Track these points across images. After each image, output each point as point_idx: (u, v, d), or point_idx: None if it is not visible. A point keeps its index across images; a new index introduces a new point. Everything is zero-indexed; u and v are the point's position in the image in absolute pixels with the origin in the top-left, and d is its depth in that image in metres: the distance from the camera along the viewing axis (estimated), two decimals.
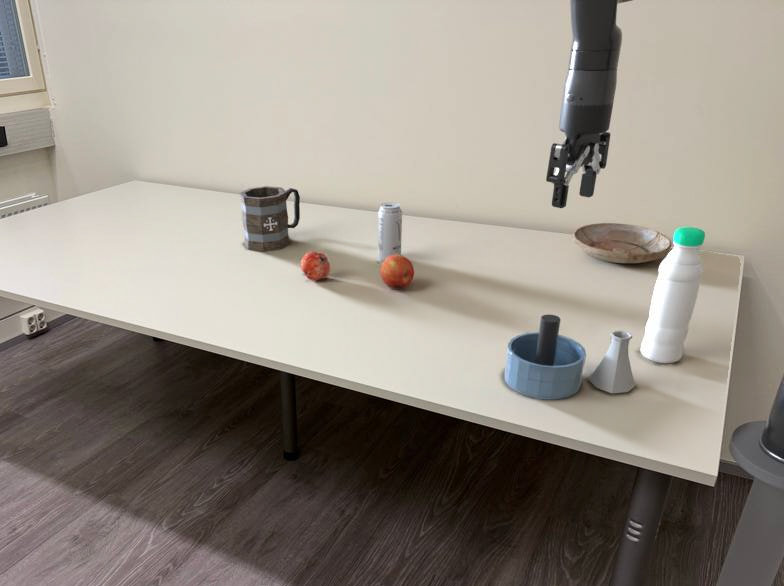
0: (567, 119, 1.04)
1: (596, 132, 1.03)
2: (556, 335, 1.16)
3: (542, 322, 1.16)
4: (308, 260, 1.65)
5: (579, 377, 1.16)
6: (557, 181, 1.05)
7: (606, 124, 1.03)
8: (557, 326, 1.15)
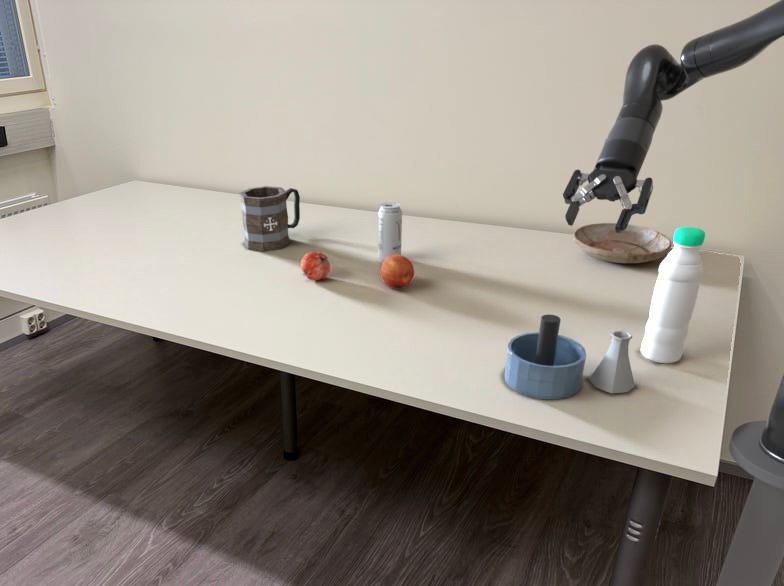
0: (640, 160, 1.19)
1: None
2: (556, 335, 1.16)
3: (542, 322, 1.16)
4: (308, 260, 1.65)
5: (579, 377, 1.16)
6: (644, 211, 1.17)
7: None
8: (557, 326, 1.15)
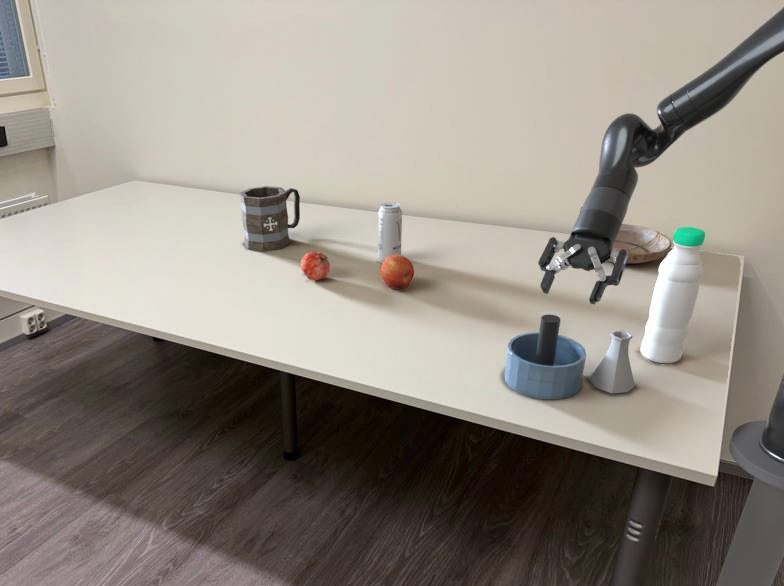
0: (615, 231, 1.19)
1: None
2: (556, 335, 1.16)
3: (542, 322, 1.16)
4: (308, 260, 1.65)
5: (579, 377, 1.16)
6: (618, 282, 1.17)
7: None
8: (557, 326, 1.15)
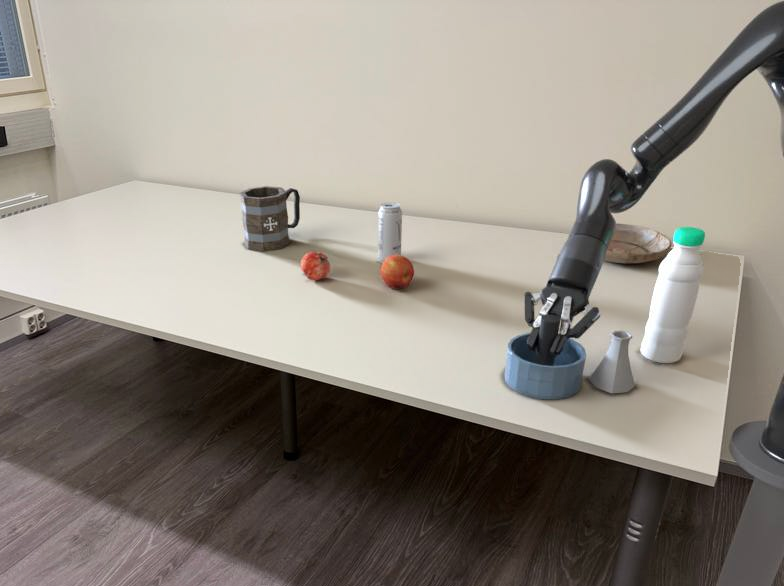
0: (592, 280, 1.16)
1: None
2: (556, 335, 1.16)
3: (542, 322, 1.16)
4: (308, 260, 1.65)
5: (579, 377, 1.16)
6: (579, 335, 1.16)
7: None
8: (557, 326, 1.15)
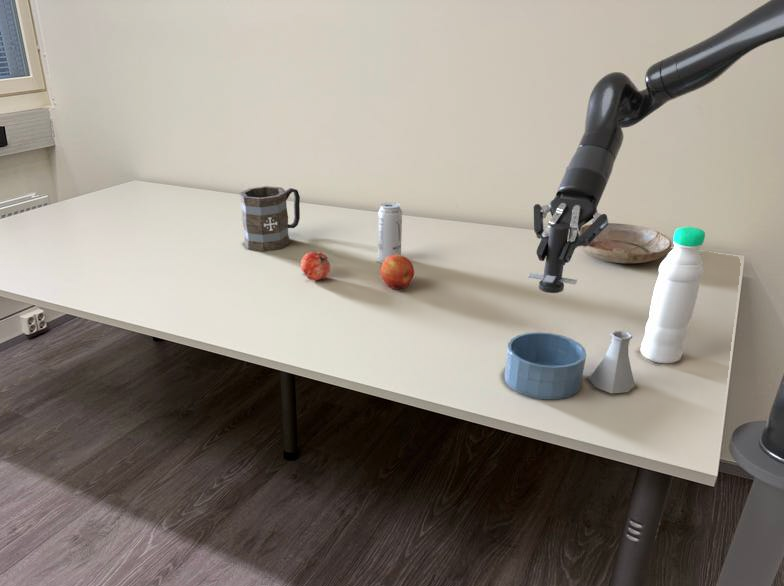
0: (600, 189, 1.19)
1: None
2: None
3: (551, 230, 1.18)
4: (308, 260, 1.65)
5: (579, 377, 1.16)
6: (587, 243, 1.18)
7: None
8: (566, 233, 1.18)
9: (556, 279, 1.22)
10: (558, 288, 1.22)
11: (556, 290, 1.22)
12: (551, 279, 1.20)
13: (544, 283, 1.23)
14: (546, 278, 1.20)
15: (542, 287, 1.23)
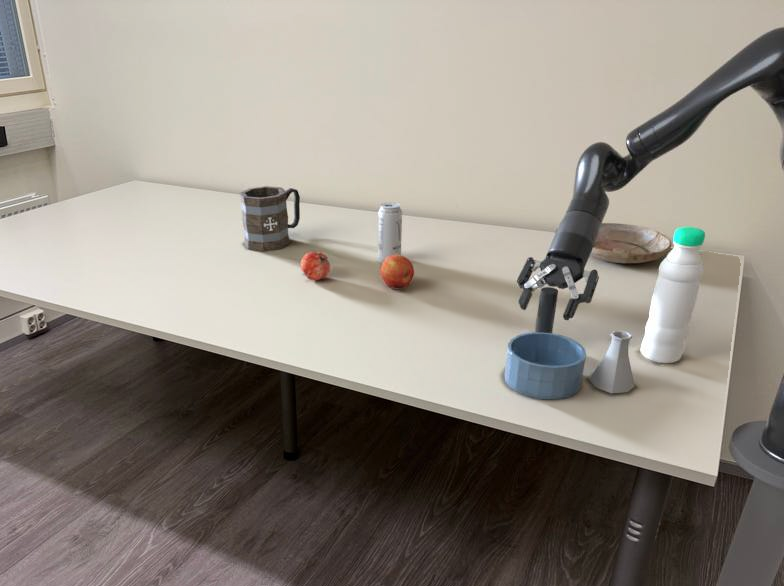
0: (587, 252, 1.28)
1: None
2: (554, 306, 1.28)
3: (541, 294, 1.28)
4: (308, 260, 1.65)
5: (579, 377, 1.16)
6: (590, 300, 1.26)
7: None
8: (555, 297, 1.27)
9: None
10: None
11: None
12: None
13: None
14: None
15: None
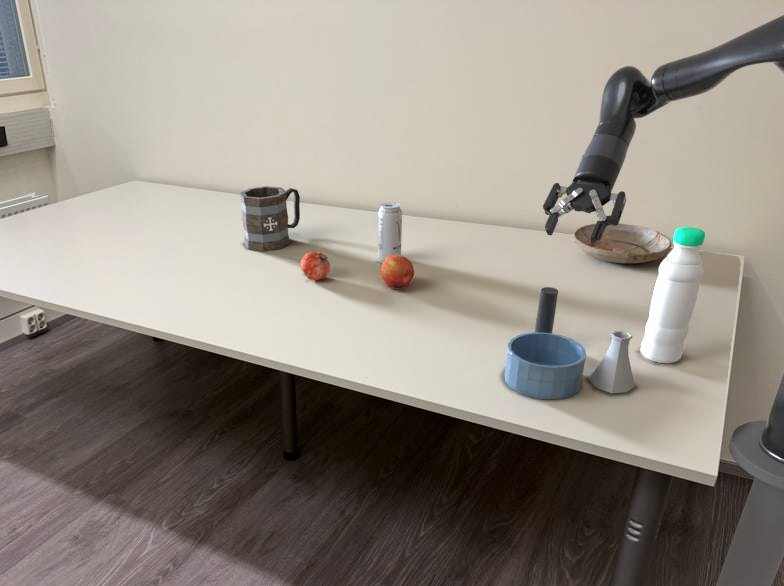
0: (614, 175, 1.27)
1: None
2: (554, 306, 1.28)
3: (541, 294, 1.28)
4: (308, 260, 1.65)
5: (579, 377, 1.16)
6: (617, 222, 1.26)
7: None
8: (555, 297, 1.27)
9: None
10: None
11: None
12: None
13: None
14: None
15: None
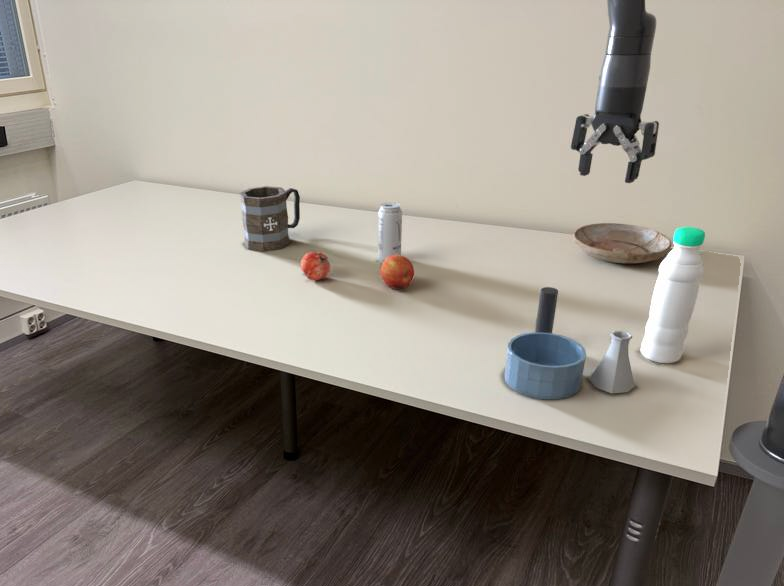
0: (638, 100, 1.11)
1: None
2: (554, 306, 1.28)
3: (541, 294, 1.28)
4: (308, 260, 1.65)
5: (579, 377, 1.16)
6: (652, 155, 1.14)
7: None
8: (555, 297, 1.27)
9: None
10: None
11: None
12: None
13: None
14: None
15: None
